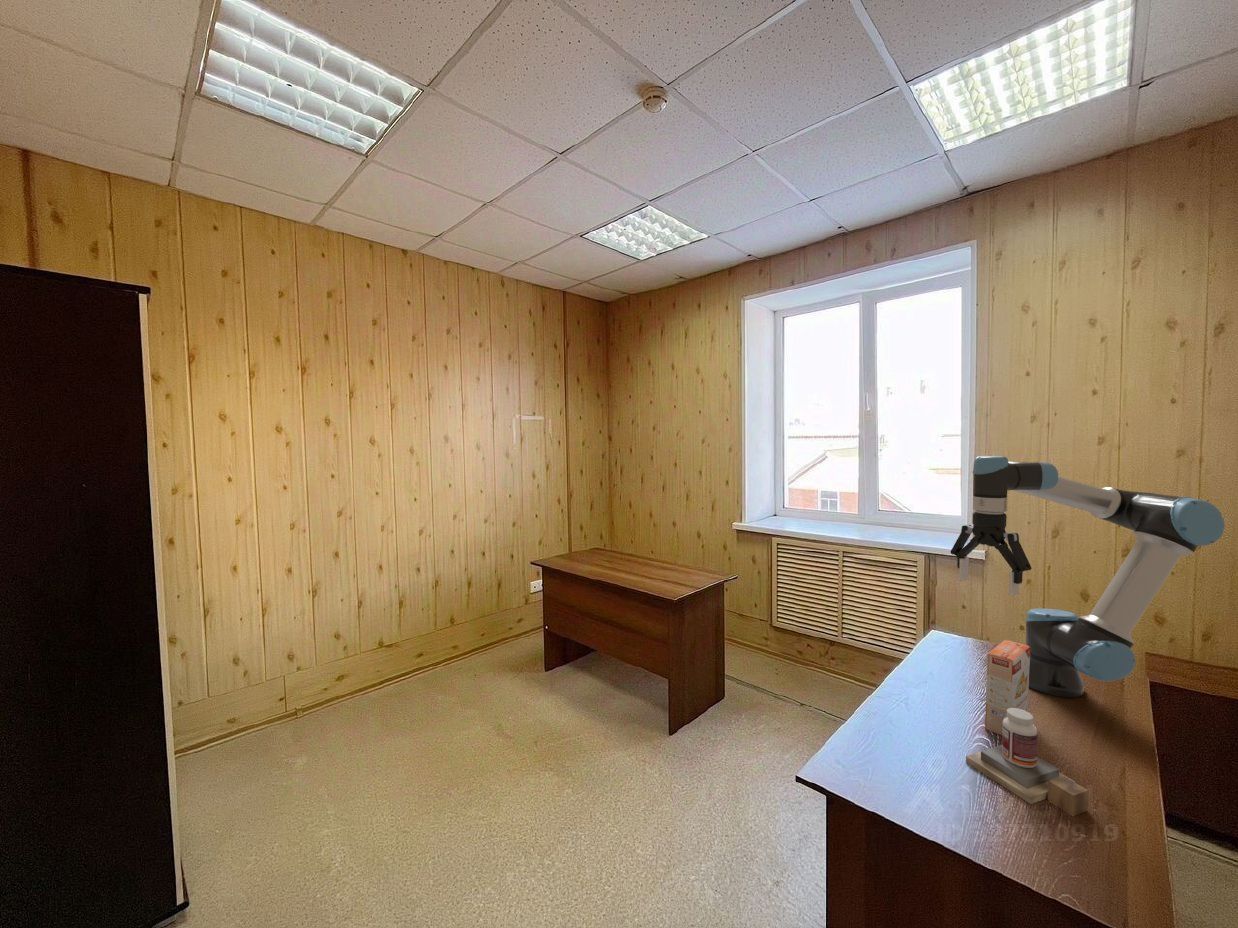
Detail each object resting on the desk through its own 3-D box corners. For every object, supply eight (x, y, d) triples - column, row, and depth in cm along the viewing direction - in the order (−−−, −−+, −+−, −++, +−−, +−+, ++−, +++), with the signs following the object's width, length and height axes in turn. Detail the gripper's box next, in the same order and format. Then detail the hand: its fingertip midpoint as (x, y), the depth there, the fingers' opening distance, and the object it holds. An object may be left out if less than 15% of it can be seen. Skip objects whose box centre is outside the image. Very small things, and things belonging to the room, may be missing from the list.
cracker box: (1012, 740, 123) (1014, 660, 122) (983, 729, 128) (985, 652, 127) (1029, 720, 132) (1031, 645, 130) (1002, 710, 136) (1004, 637, 135)
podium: (1007, 749, 120) (1008, 735, 120) (1075, 788, 107) (1076, 772, 107) (965, 761, 116) (966, 747, 116) (1030, 804, 103) (1031, 788, 103)
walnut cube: (1063, 775, 105) (1088, 790, 100) (1062, 795, 105) (1087, 810, 101) (1048, 780, 103) (1073, 795, 99) (1047, 800, 104) (1072, 816, 99)
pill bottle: (1042, 763, 110) (1044, 716, 109) (1027, 772, 107) (1028, 724, 106) (1011, 748, 115) (1012, 703, 115) (995, 755, 113) (996, 710, 112)
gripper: (937, 506, 146) (936, 576, 147) (1029, 520, 122) (1027, 603, 123) (956, 504, 148) (954, 573, 149) (1050, 517, 124) (1047, 599, 125)
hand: (987, 587), depth 136 cm, fingers open, 13 cm apart
